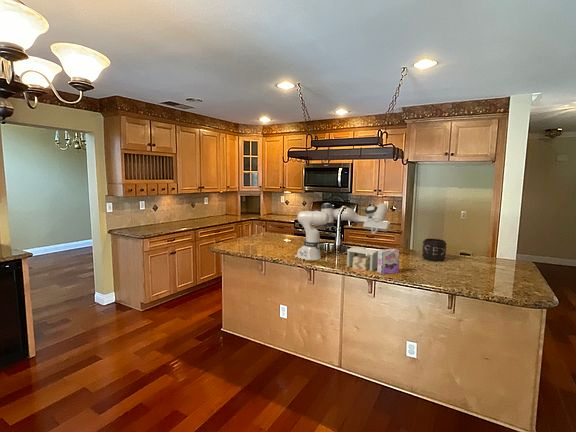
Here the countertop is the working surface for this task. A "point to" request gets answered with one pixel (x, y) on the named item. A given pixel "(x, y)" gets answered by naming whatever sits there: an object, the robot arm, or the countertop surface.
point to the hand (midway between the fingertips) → (373, 233)
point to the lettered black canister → (434, 250)
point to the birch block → (361, 262)
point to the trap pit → (357, 269)
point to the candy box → (388, 261)
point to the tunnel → (372, 253)
